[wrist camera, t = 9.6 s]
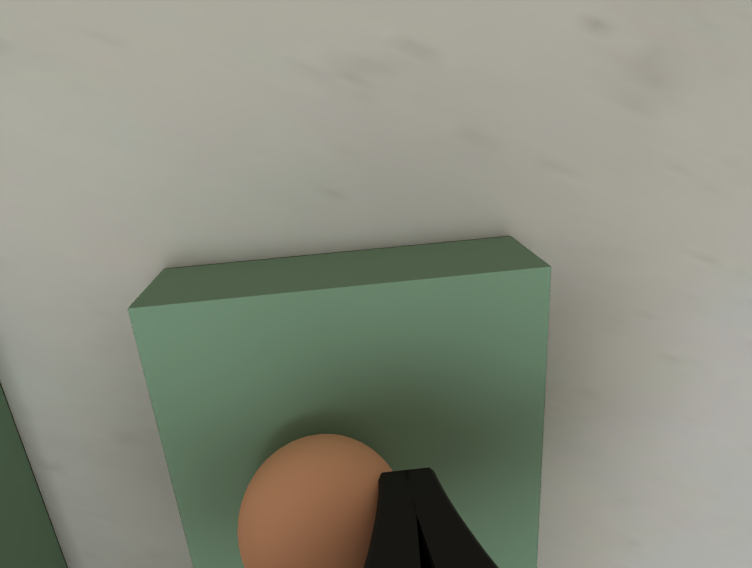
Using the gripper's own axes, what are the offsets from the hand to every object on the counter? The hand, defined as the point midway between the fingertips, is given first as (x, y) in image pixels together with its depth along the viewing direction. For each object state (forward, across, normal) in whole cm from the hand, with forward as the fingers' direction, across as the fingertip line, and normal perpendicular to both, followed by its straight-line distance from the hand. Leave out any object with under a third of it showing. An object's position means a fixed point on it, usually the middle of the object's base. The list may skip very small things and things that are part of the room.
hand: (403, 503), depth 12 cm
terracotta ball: (0, +2, 0) cm, 2 cm away
